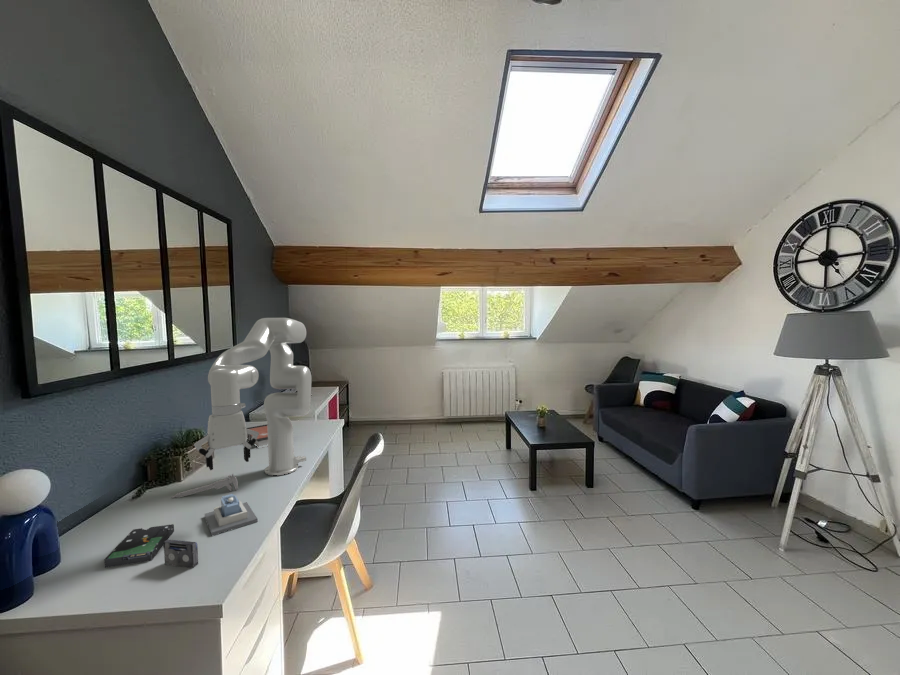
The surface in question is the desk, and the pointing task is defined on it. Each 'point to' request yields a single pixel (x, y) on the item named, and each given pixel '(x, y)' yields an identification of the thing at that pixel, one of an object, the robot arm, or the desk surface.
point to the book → (260, 435)
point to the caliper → (212, 486)
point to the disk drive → (139, 546)
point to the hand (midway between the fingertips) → (229, 464)
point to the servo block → (229, 505)
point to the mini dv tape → (181, 553)
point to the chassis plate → (229, 519)
